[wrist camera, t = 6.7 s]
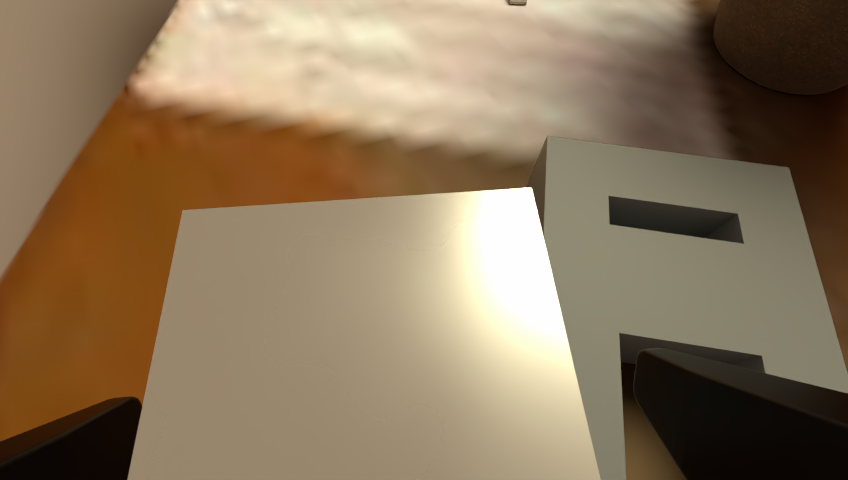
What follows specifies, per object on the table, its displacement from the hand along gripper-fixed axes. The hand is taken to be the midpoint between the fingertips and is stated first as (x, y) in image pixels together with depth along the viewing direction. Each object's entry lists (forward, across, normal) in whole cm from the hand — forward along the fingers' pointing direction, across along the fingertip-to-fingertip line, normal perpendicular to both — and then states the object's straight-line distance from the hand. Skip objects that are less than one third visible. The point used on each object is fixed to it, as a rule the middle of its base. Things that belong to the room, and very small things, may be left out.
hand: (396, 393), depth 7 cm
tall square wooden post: (+5, 0, -6) cm, 8 cm away
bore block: (+7, +9, -4) cm, 12 cm away
